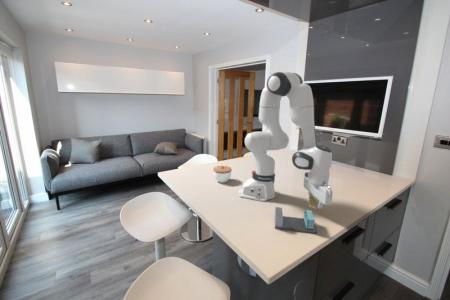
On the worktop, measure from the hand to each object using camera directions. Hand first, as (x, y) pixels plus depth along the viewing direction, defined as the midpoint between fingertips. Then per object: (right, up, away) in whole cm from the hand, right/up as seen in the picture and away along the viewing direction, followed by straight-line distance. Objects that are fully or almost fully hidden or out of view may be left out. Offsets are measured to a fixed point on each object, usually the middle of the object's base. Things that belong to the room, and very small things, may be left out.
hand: (315, 203), depth 111 cm
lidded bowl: (-48, +5, +43) cm, 64 cm away
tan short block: (0, -2, 0) cm, 2 cm away
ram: (-8, -7, -11) cm, 15 cm away
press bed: (-13, -8, -9) cm, 18 cm away
